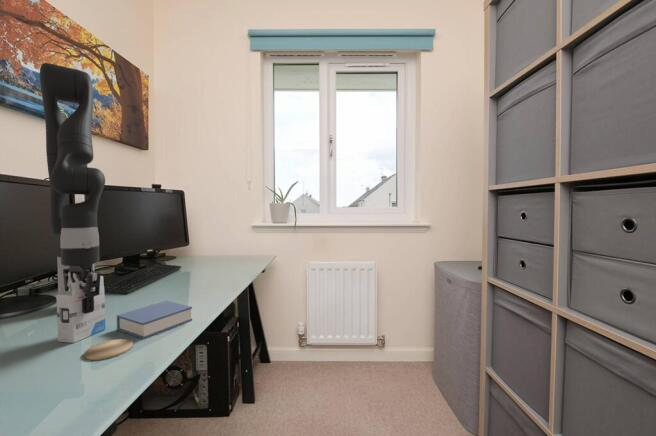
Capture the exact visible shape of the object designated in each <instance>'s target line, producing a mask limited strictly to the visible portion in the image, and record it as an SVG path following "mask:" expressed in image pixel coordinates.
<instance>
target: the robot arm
mask: <svg viewBox="0 0 656 436" xmlns="http://www.w3.org/2000/svg"><path fill="white" fill-rule="evenodd" d="M39 84H40V91H41V97H42V106H43V111H44V112H43V113H44V121H45V123H44V124H45V145H46V146H45V148H46V152H45V153H46V164H47V170H48V171H47V172H48V173H47V174H48V181H49V226H50V230H51V232H52V233H53V235H55V236H60V247H58V248H57V249H56V257H57V259H56V260H57V284H58V285H57V291H58V293H57V295H58V294H62V293H66V292H70V291H72V289H71V284H72V283H74V282H79V281H82V282H83V283H86V284H85V285H83V286H82V285H81V283H80V284H79V289H80V290H81V295H82V298H83V299H82V312H83V313H85V314H86V313H90V312H93V311H94V297H95V296H97V295H99V291H100V276H101V272H99V271H97V272H95V264H97V263H99V262H100V259H101V258H100V235H99V228H98V209H99V204H100V199H101V196H102V194H103V190H104V188H105V184H106V177H105V174H104V173H103V172H102V171H101V170H100V169H99V168H96V167H95V168H94V167H90V166H89V167H88V164H91V163H92V162H93V161H94V147H93V139H92V125H93V114H94V110H93V109H94V108H93V107H94V106H93V105H94V88H93V87H94V86H93V85H94V84H93V81H92V77H91V76H90V74H89V73H88V72H86V71H83V70H80V69H76V68H71V67H68V66H63V65H58V64H54V63H50V62H42V64H41V65H40V67H39ZM58 101H62V102H67V103H74V104H78V106H77V108H76V109H75V110H74V111H73V112H72V114H70V115H69V116H68V117H67V118H65V116H64V115H63V113H62V111H61V108H60V107H59V105H58ZM68 195H87V196H86V197H87V198H86V199H85V200H84V201H82V202H81V201H80V202H77V203H68V204H65V205H64V203H65V201H66V198H67V197H68ZM94 287H95V289H94ZM85 289H86V292H85Z"/></svg>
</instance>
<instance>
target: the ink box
mask: <svg viewBox="0 0 656 436" xmlns="http://www.w3.org/2000/svg"><path fill="white" fill-rule="evenodd" d="M80 283H81V285H82V286H83V285H85V284H86V283H83V282H82V281H79V282H74V283H72V284H71V289H72V291H70V292H66V293H62V294H58V293H57V294H56V295H55V296H56V317H57V318H56V323H57V342H62V343H69V344H70V343H71V344H75V343H77V342H79V341H81V340H83V339H86V338H89V337H91V336H93V335H95V334H98V333H100V332H102V331H105V330H106V306H105V305H106V304H105V303H106V302H105V297H106V296H105V286H104V276H103V275H100V291H99V295H97V296H95V297H94V311H93V312H90V313H86V314H85V313H83V312H82V299H83V298H82V295H81V290H80V289H79V284H80ZM94 289H95V287H94ZM85 292H86V289H85Z"/></svg>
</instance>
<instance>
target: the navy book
mask: <svg viewBox="0 0 656 436" xmlns="http://www.w3.org/2000/svg"><path fill="white" fill-rule="evenodd" d="M192 309H193V307H192V305H191V306H190V305H187V304H186V305H185V304H183V303H182V304H181V303H177V302H173V301H168V300H165V301H160V302H158V303H154V304H151V305H147V306H144V307H141V308H137V309H133V310H130V311H126V312H124V313H120V314H116V330H117V331H118V332H121V333H125V334H128V335H131V336H133V337H136V338H139V339H142V340H145V339H147V338H150V337H152V336H155V335H157V334H160V333H163V332H165V331H168V330H170V329H173V328H176V327H178V326H181V325H184V324H186V323H188V322H191V321H193V318H192Z"/></svg>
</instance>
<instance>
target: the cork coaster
mask: <svg viewBox="0 0 656 436" xmlns="http://www.w3.org/2000/svg"><path fill="white" fill-rule="evenodd" d="M133 346H134V342H133V340H131V339H129V338H116V339H111V340H106V341H102V342H100V343H97V344H95V345H93V346H90V347H89V348H87V349H86V350H85V351H84V352H83V356H84V357H83V358H84V359H86V360H88V361H103V360H107V359H112V358H114V357H115V358H116V357H118V356H121V355H124V354H126V353H127V352H129V351H130V350H131V349H133Z"/></svg>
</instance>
